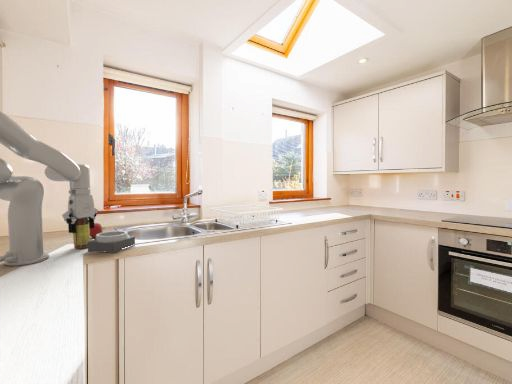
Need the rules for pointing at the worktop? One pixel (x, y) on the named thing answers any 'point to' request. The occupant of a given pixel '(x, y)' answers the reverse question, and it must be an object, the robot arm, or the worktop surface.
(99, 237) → the mount
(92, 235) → the tomato
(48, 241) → the worktop surface
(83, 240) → the sauce bottle
